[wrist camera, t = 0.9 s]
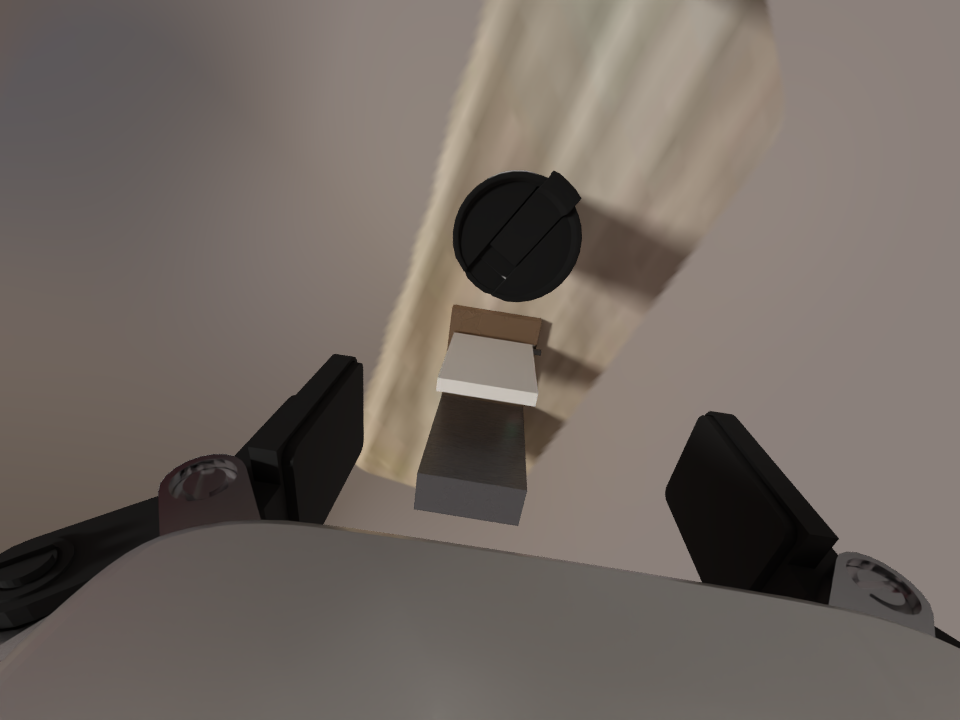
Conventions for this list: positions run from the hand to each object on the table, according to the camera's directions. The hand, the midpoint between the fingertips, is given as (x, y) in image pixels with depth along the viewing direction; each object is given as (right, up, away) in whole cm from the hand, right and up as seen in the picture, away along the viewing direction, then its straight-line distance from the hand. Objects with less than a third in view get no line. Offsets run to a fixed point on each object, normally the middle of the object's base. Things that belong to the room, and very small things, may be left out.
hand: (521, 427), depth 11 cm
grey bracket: (0, +1, +33) cm, 33 cm away
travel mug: (+2, +16, +26) cm, 30 cm away
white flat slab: (+1, +3, +30) cm, 30 cm away
